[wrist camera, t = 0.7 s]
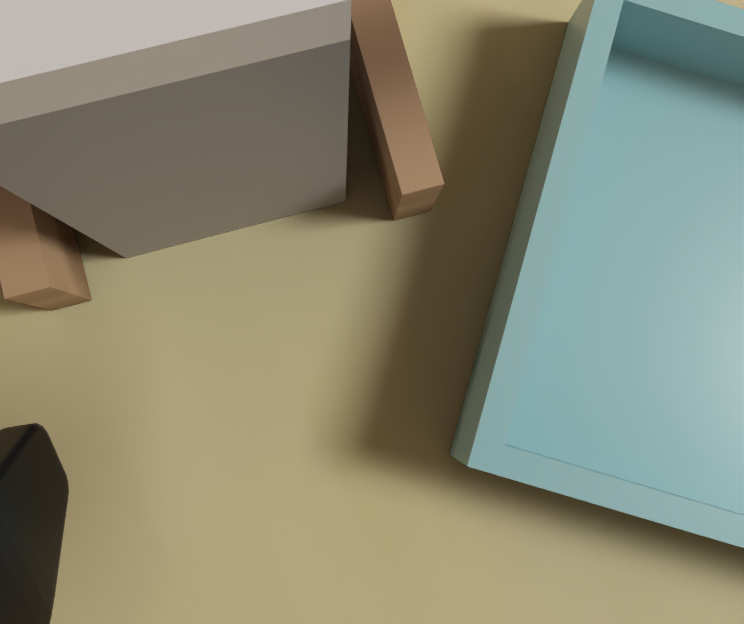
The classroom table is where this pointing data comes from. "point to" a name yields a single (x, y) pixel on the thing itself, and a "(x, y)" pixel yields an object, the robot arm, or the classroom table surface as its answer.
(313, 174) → the caddy
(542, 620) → the classroom table surface
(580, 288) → the tray
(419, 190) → the dock
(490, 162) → the classroom table surface
